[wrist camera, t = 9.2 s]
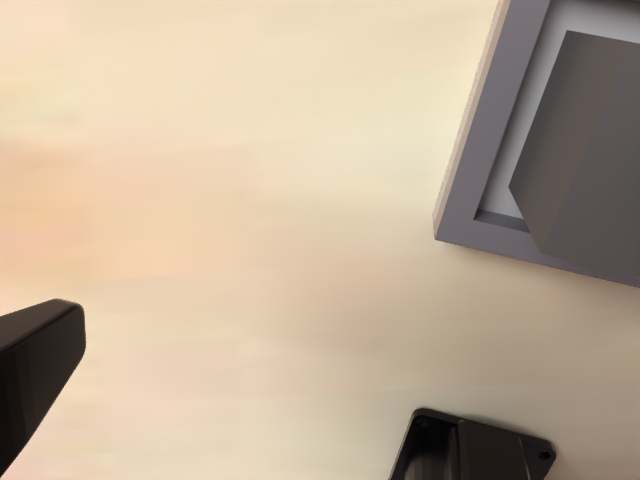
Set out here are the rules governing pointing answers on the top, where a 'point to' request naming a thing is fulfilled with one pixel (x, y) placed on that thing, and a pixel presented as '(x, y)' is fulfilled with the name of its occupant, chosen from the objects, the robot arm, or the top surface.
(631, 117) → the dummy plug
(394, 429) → the top surface
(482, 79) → the grey socket tray
